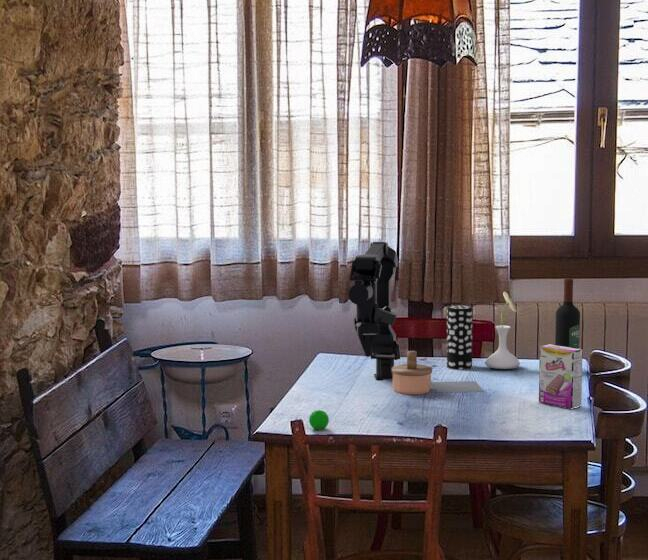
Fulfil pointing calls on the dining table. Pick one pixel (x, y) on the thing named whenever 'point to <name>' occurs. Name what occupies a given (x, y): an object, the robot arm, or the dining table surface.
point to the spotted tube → (459, 337)
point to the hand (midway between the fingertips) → (366, 353)
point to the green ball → (318, 419)
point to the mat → (457, 386)
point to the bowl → (411, 384)
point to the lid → (412, 367)
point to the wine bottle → (567, 320)
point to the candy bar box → (560, 376)
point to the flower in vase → (503, 344)
